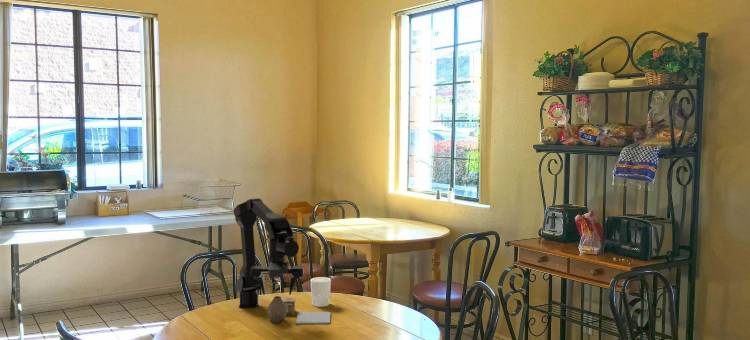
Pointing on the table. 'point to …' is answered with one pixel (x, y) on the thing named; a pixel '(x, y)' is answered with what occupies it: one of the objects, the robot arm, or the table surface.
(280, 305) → the vase
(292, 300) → the letter cube
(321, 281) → the white cup
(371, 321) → the table surface
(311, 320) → the grey mat
